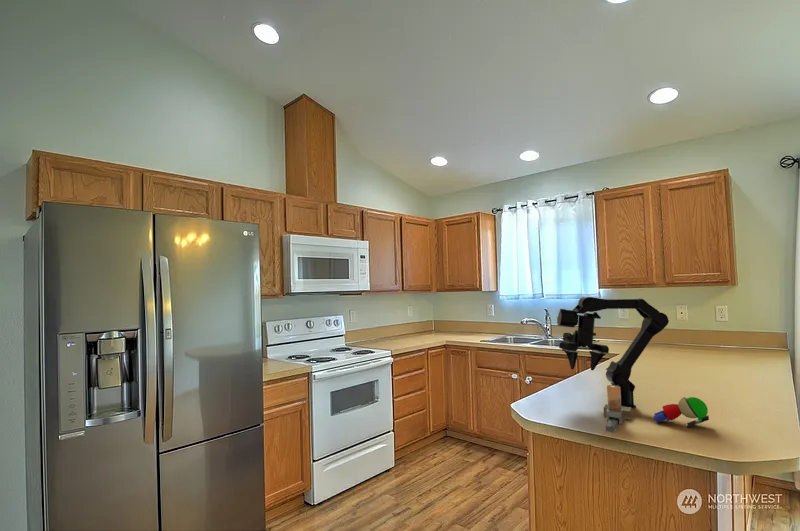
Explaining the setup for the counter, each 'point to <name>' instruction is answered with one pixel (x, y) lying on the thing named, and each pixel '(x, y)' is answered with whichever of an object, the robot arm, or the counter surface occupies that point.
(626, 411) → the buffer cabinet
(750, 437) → the counter surface
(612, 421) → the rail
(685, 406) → the toy
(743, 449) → the counter surface
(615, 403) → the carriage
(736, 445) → the counter surface
